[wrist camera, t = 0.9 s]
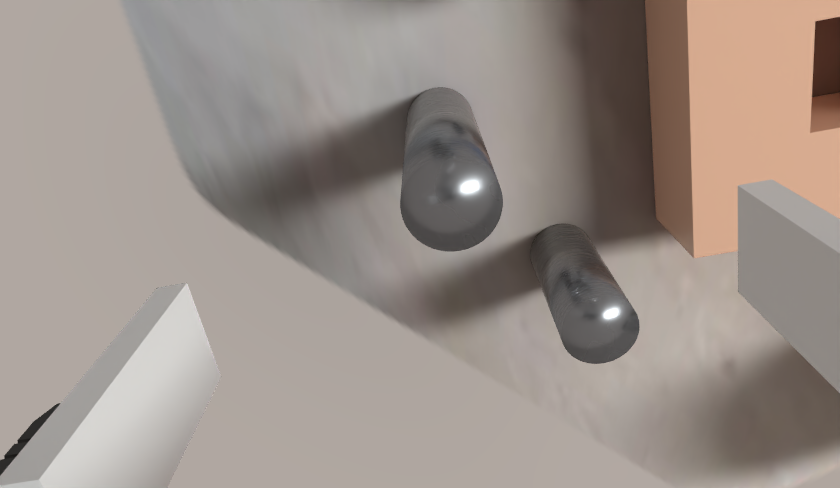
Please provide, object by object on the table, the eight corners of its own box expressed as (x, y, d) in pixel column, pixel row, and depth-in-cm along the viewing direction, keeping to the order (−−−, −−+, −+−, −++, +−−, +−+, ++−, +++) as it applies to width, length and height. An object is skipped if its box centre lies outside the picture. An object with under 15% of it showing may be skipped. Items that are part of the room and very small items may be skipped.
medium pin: (526, 229, 34) (557, 303, 26) (588, 218, 33) (637, 290, 26) (534, 284, 35) (565, 369, 27) (593, 273, 35) (641, 356, 27)
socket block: (640, -82, 28) (684, -92, 23) (980, -152, 27) (1096, -177, 22) (655, 218, 33) (693, 258, 29) (940, 168, 32) (1026, 202, 28)
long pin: (401, 94, 31) (390, 165, 20) (467, 81, 31) (494, 145, 20) (413, 158, 32) (411, 259, 21) (478, 146, 32) (509, 242, 21)
